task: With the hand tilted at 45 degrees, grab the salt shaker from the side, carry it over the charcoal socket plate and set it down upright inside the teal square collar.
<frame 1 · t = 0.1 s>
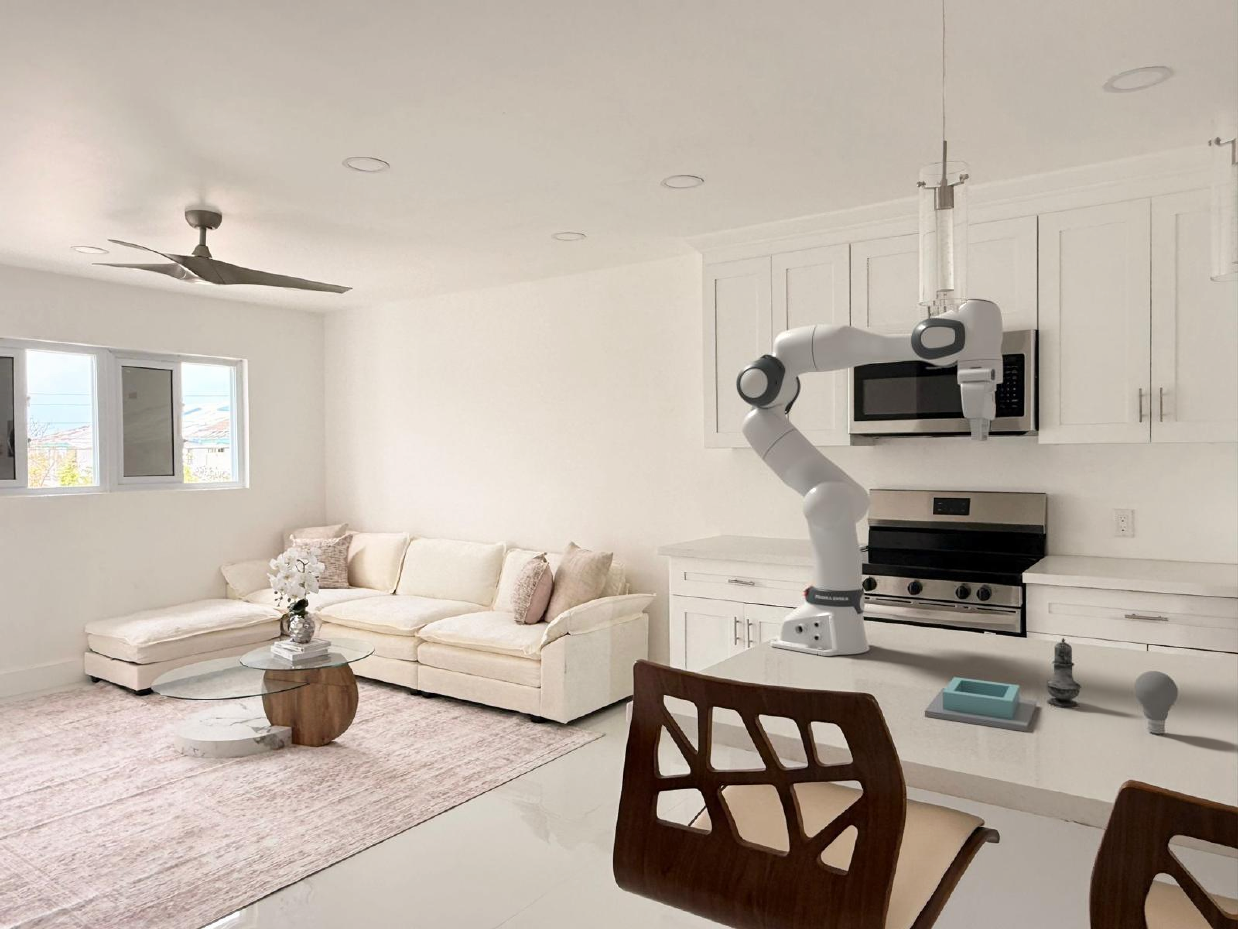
hand: (980, 440, 180), 48 cm above the countertop, tool pointing down, fingers open, 8 cm apart
socket: (981, 711, 150), on the countertop
light bulb: (1155, 734, 138), on the countertop
salt shaker: (1062, 705, 154), on the countertop
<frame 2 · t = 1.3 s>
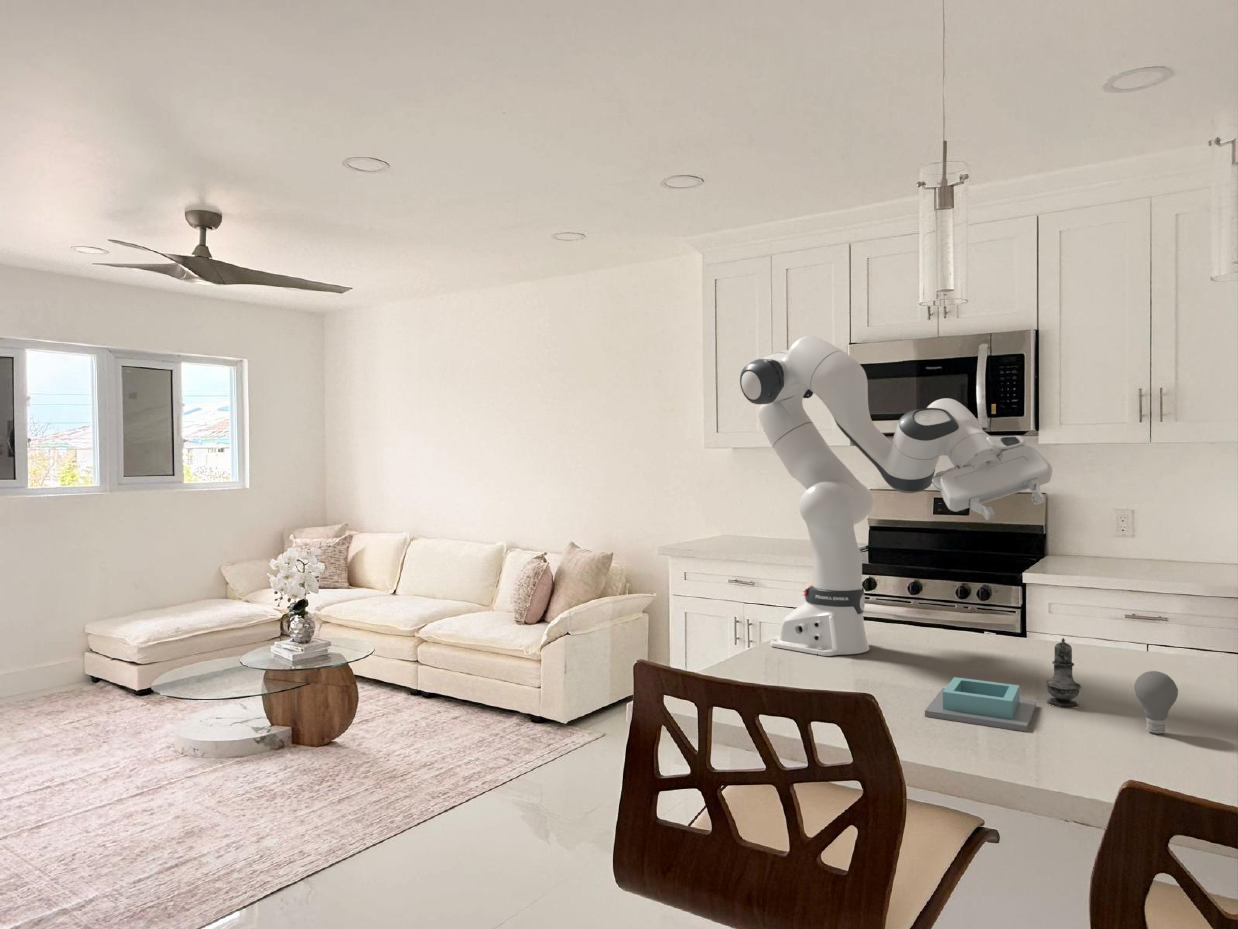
hand: (1015, 509, 157), 35 cm above the countertop, tool tilted 50°, fingers open, 8 cm apart
nothing on the countertop moved.
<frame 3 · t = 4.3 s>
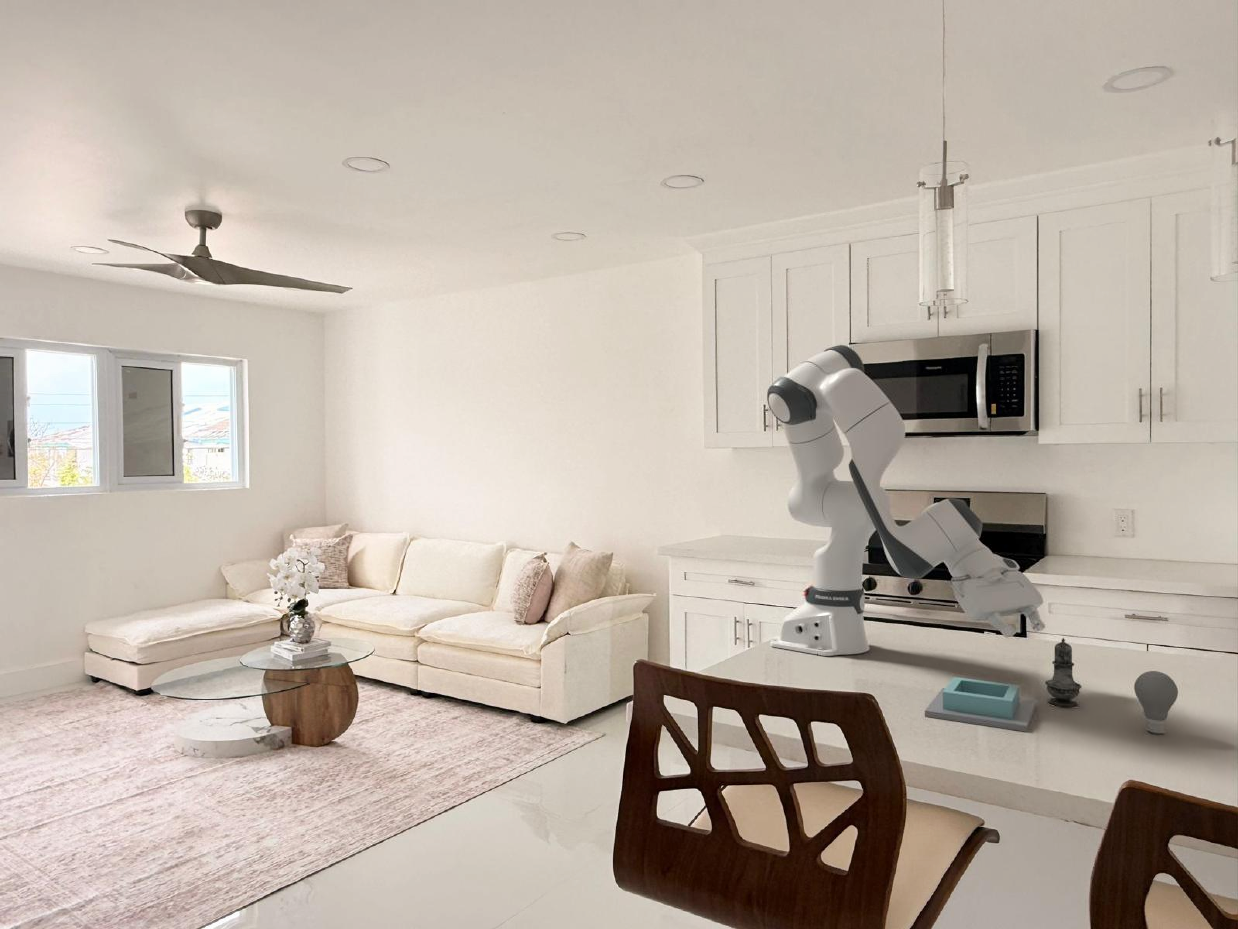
hand: (1026, 632, 158), 12 cm above the countertop, tool tilted 45°, fingers open, 8 cm apart
nothing on the countertop moved.
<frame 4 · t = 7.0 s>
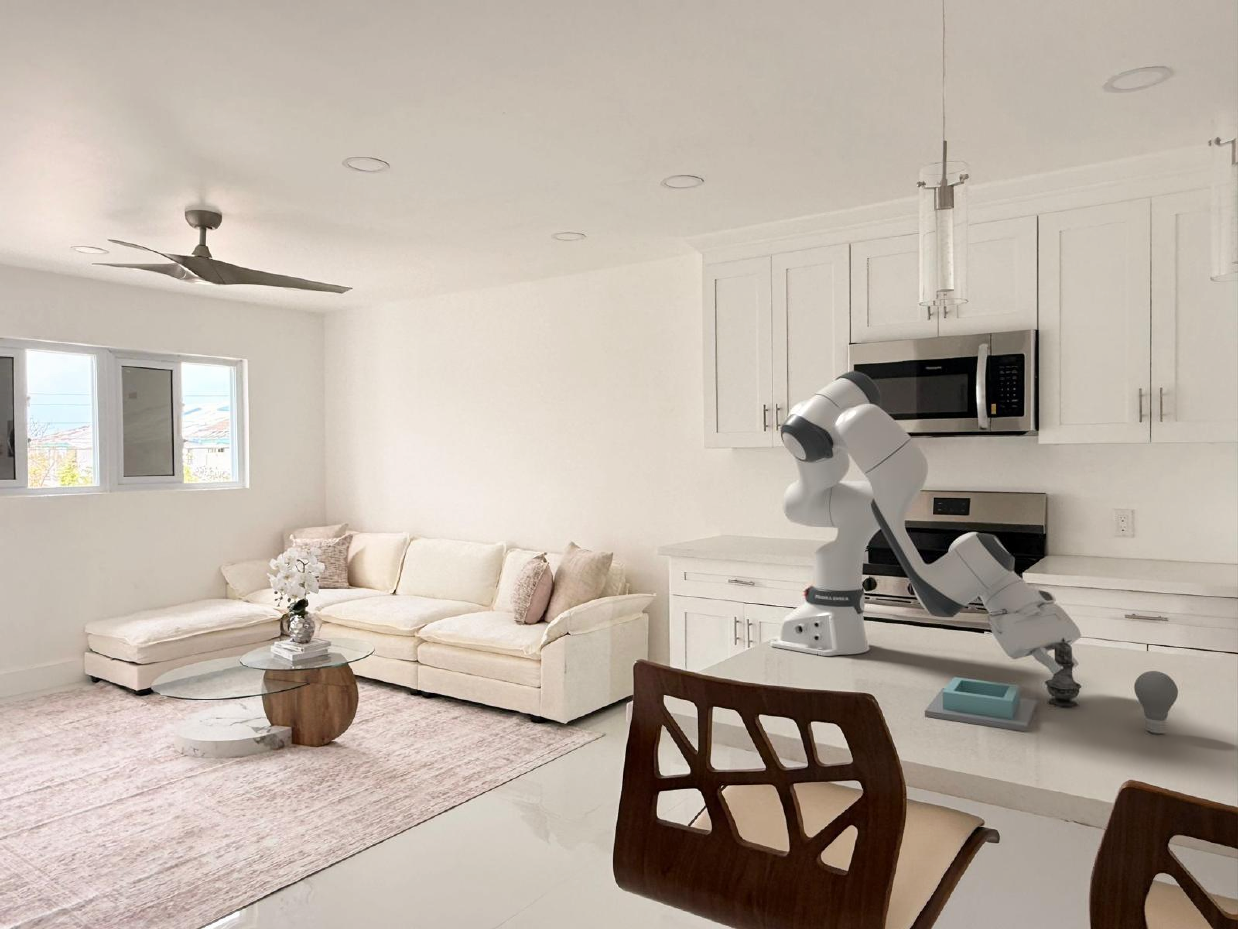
hand: (1066, 669, 153), 6 cm above the countertop, tool tilted 45°, fingers closed on salt shaker, 4 cm apart
salt shaker: (1062, 705, 154), on the countertop, touching gripper
everything else where it was.
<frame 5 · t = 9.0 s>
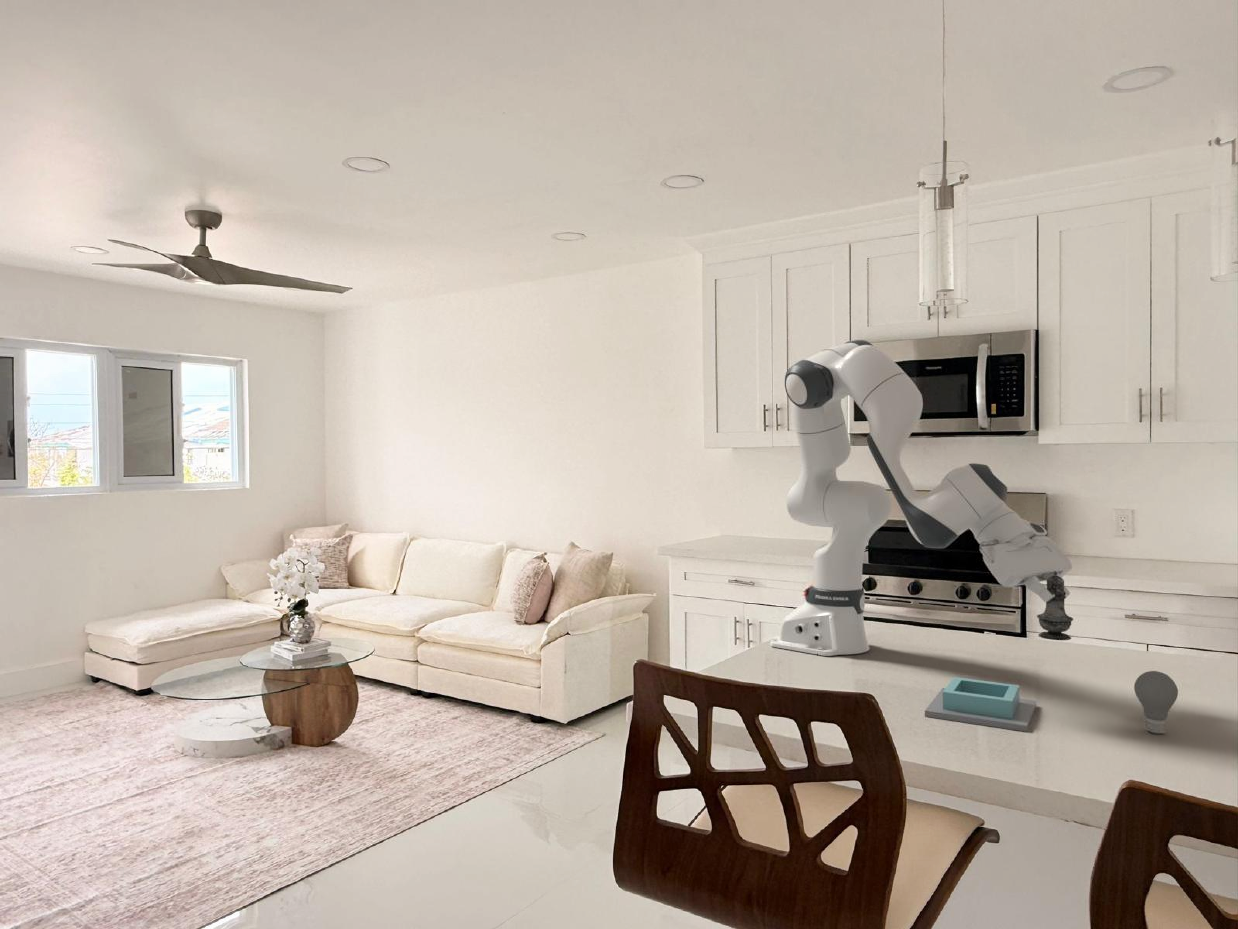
hand: (1058, 598, 153), 19 cm above the countertop, tool tilted 45°, fingers closed on salt shaker, 4 cm apart
salt shaker: (1054, 638, 153), point 12 cm above the countertop, touching gripper
everything else where it was.
when the fingers open (13 cm above the countertop, at t = 11.3 s): salt shaker drops 4 cm, resting on socket.
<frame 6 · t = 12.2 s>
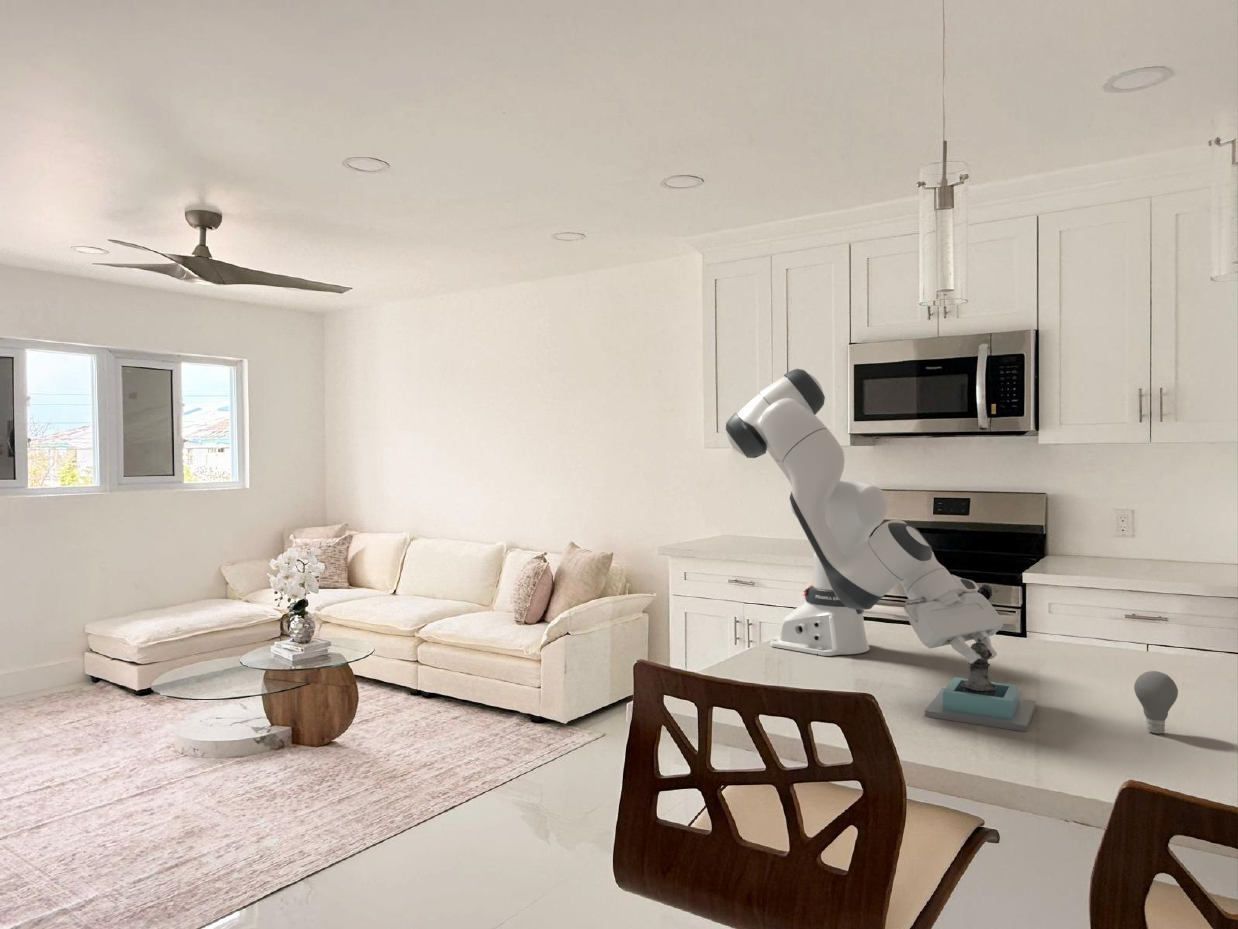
hand: (984, 659, 149), 9 cm above the countertop, tool tilted 45°, fingers open, 3 cm apart
salt shaker: (979, 706, 150), point 1 cm above the countertop, touching gripper, socket
everything else where it was.
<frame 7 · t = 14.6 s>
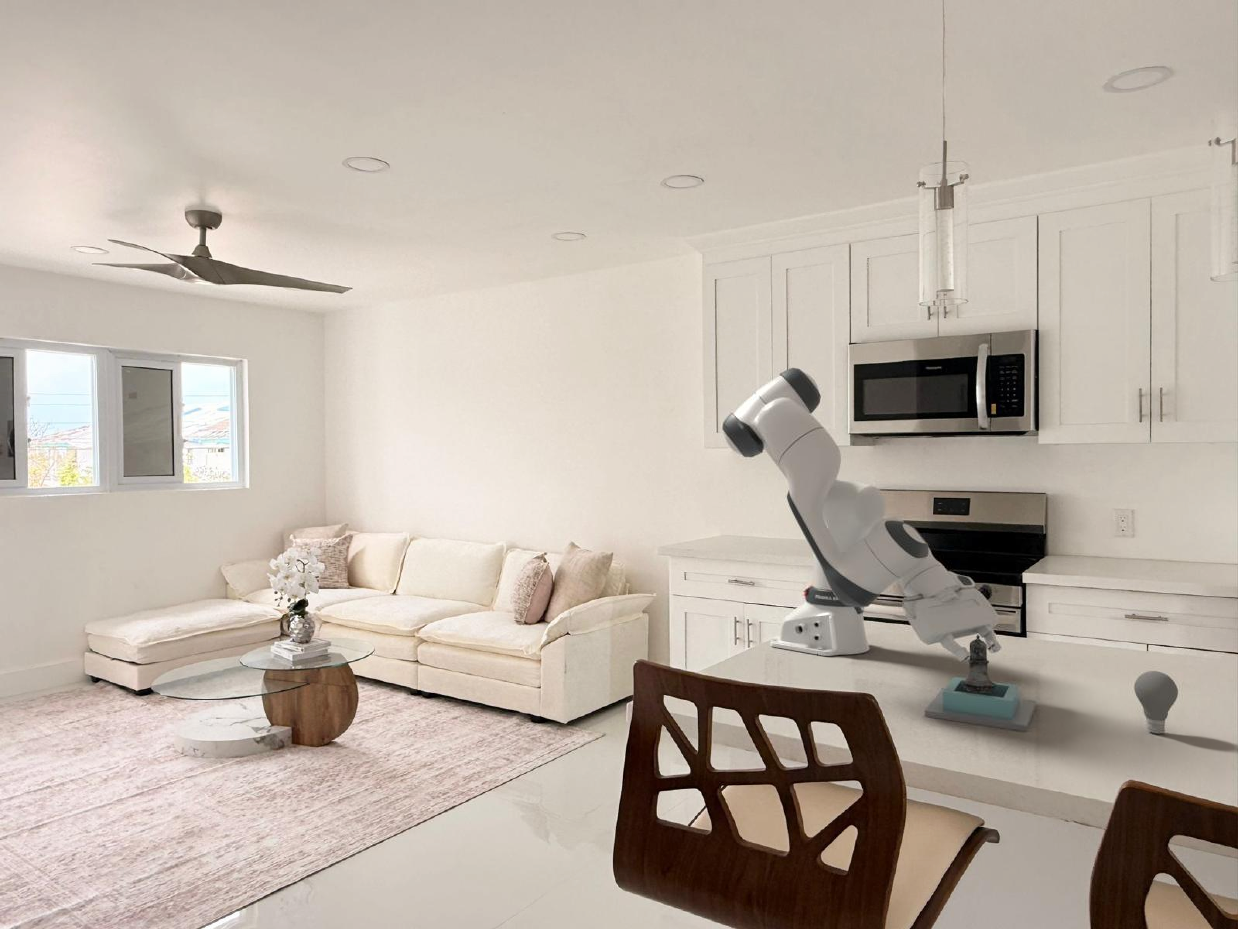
hand: (981, 655, 150), 10 cm above the countertop, tool tilted 45°, fingers open, 8 cm apart
salt shaker: (979, 704, 150), point 1 cm above the countertop, touching socket
everything else where it was.
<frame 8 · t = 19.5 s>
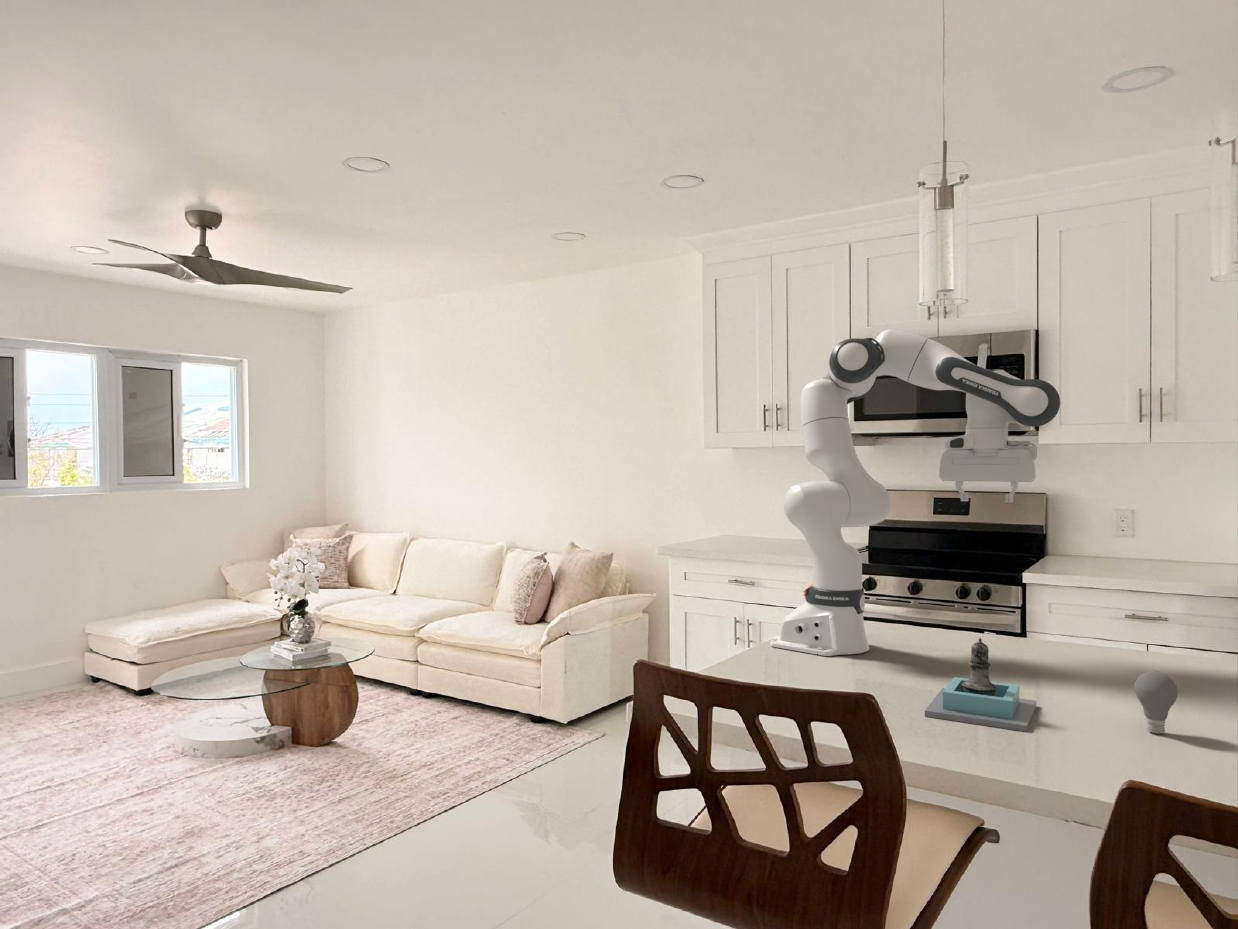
hand: (986, 501, 194), 34 cm above the countertop, tool pointing down, fingers open, 8 cm apart
at the end: salt shaker 0.4 cm off-centre on the socket, point 0.8 cm above the socket's base; salt shaker tilted 1°; the gripper is holding nothing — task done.
